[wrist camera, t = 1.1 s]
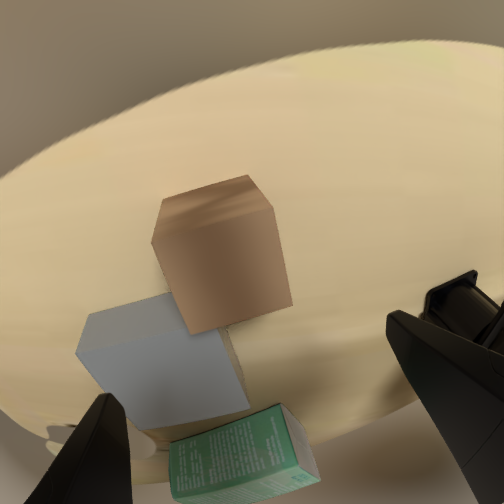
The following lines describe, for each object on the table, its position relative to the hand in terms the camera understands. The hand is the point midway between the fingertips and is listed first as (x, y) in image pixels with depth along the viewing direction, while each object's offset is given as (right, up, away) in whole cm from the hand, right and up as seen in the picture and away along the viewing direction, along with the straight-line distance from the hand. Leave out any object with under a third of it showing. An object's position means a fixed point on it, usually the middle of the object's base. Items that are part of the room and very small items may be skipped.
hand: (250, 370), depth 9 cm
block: (-2, +5, +10) cm, 11 cm away
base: (-6, -3, +13) cm, 15 cm away
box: (-2, -16, +21) cm, 27 cm away
